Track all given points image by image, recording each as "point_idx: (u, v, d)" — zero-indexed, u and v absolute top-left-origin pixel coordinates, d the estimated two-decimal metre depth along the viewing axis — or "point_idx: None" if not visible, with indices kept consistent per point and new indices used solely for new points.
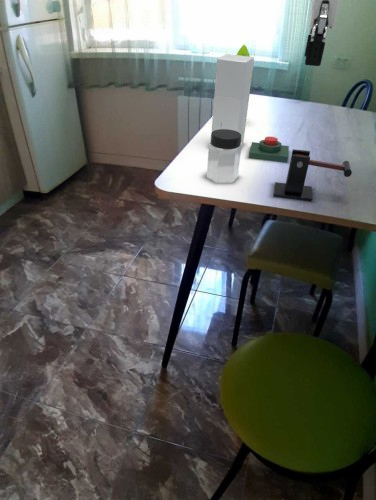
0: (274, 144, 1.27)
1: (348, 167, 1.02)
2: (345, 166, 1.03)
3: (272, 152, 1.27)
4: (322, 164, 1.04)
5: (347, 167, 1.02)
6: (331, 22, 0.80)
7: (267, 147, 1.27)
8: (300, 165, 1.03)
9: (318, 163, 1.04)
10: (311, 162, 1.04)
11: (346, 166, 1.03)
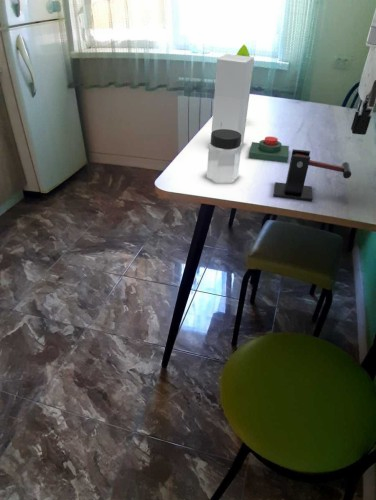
0: (274, 144, 1.27)
1: (348, 169, 1.03)
2: (345, 167, 1.04)
3: (272, 152, 1.27)
4: (322, 165, 1.04)
5: (347, 169, 1.03)
6: None
7: (267, 147, 1.27)
8: (300, 165, 1.03)
9: (318, 164, 1.04)
10: (311, 162, 1.04)
11: (345, 168, 1.03)
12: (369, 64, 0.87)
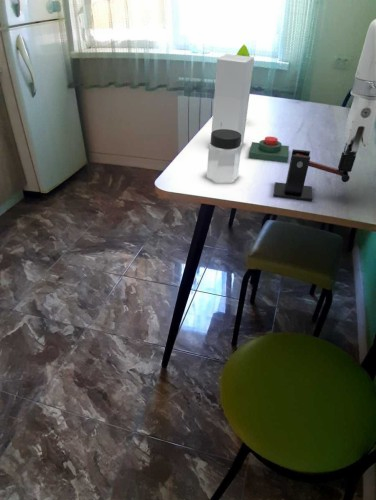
0: (274, 144, 1.27)
1: (346, 172, 1.03)
2: (343, 171, 1.04)
3: (272, 152, 1.27)
4: (321, 167, 1.05)
5: (345, 172, 1.03)
6: (365, 142, 0.95)
7: (267, 147, 1.27)
8: (300, 165, 1.03)
9: (317, 165, 1.05)
10: (311, 163, 1.05)
11: (344, 171, 1.04)
12: (353, 111, 0.93)
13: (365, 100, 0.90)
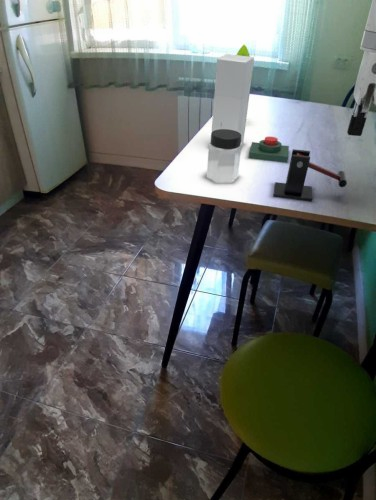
0: (274, 144, 1.27)
1: (344, 178, 1.04)
2: (341, 176, 1.05)
3: (272, 152, 1.27)
4: (320, 169, 1.05)
5: (343, 177, 1.04)
6: None
7: (267, 147, 1.27)
8: (300, 165, 1.03)
9: (316, 167, 1.05)
10: (310, 165, 1.05)
11: (341, 176, 1.05)
12: (363, 68, 0.87)
13: None
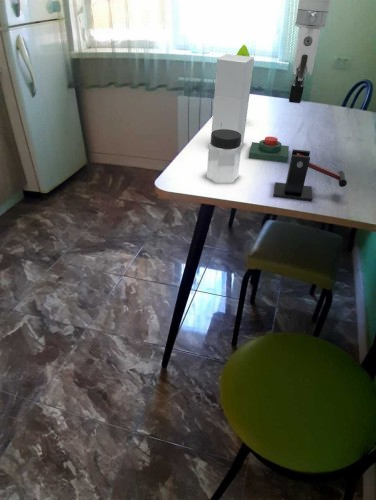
0: (274, 144, 1.27)
1: (344, 177, 1.04)
2: (341, 176, 1.05)
3: (272, 152, 1.27)
4: (320, 169, 1.05)
5: (343, 177, 1.04)
6: (309, 70, 1.04)
7: (267, 147, 1.27)
8: (300, 165, 1.03)
9: (316, 167, 1.05)
10: (310, 165, 1.05)
11: (342, 176, 1.05)
12: (297, 41, 1.03)
13: (306, 29, 1.00)
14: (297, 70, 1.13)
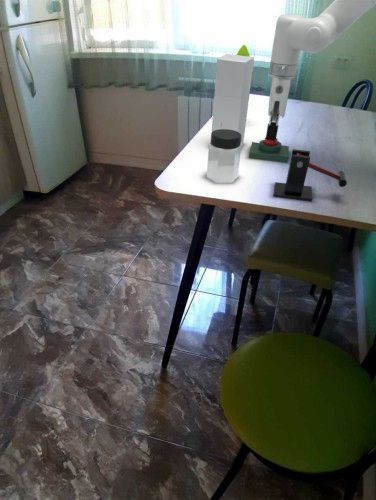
0: (274, 144, 1.28)
1: (344, 177, 1.04)
2: (341, 176, 1.05)
3: (272, 152, 1.27)
4: (320, 169, 1.05)
5: (343, 177, 1.04)
6: (281, 114, 1.18)
7: (267, 147, 1.27)
8: (300, 165, 1.03)
9: (316, 167, 1.05)
10: (310, 165, 1.05)
11: (342, 176, 1.05)
12: (271, 89, 1.17)
13: (278, 79, 1.14)
14: None
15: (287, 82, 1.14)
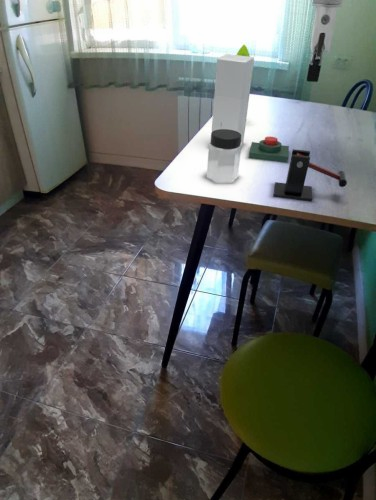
0: (274, 144, 1.27)
1: (344, 177, 1.04)
2: (341, 176, 1.05)
3: (272, 152, 1.27)
4: (320, 169, 1.05)
5: (343, 177, 1.04)
6: (327, 48, 1.08)
7: (267, 147, 1.27)
8: (300, 165, 1.03)
9: (316, 167, 1.05)
10: (310, 165, 1.05)
11: (342, 176, 1.05)
12: (315, 20, 1.07)
13: (324, 8, 1.04)
14: None
15: (334, 10, 1.04)
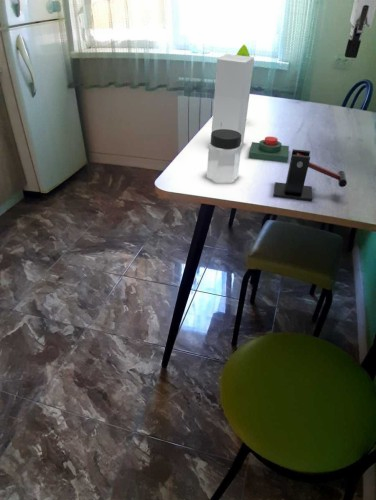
0: (274, 144, 1.27)
1: (344, 177, 1.04)
2: (341, 176, 1.05)
3: (272, 152, 1.27)
4: (320, 169, 1.05)
5: (343, 177, 1.04)
6: (369, 21, 1.06)
7: (267, 147, 1.27)
8: (300, 165, 1.03)
9: (316, 167, 1.05)
10: (310, 165, 1.05)
11: (342, 176, 1.05)
12: None
13: None
14: None
15: None
